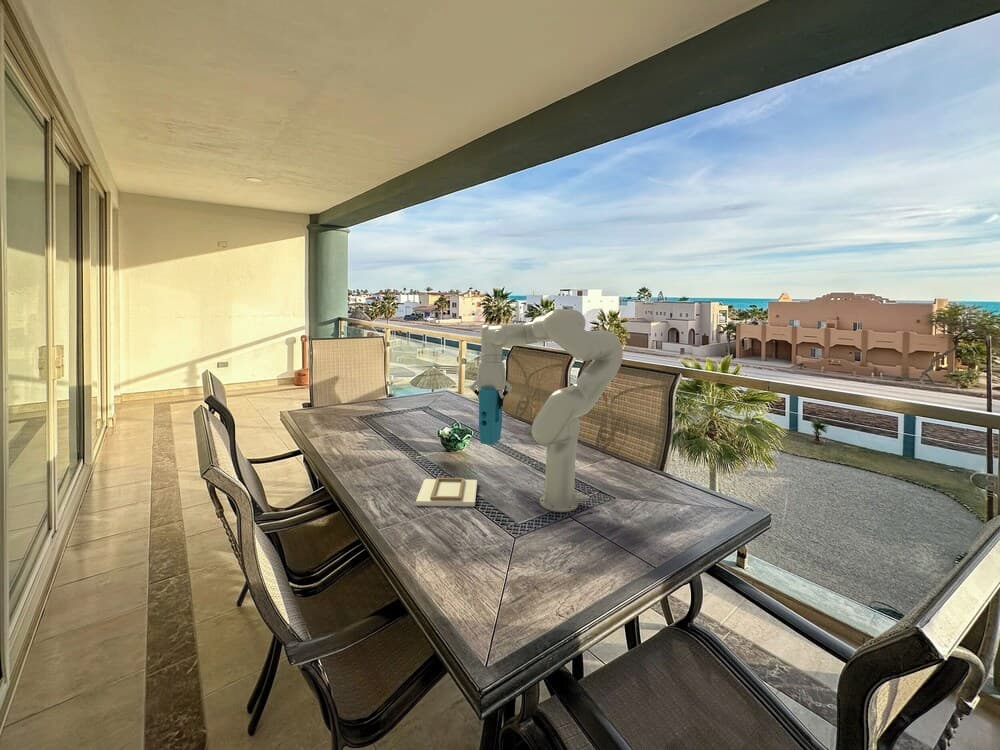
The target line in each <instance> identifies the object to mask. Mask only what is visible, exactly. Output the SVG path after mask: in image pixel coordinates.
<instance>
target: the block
mask: <svg viewBox="0 0 1000 750" xmlns="http://www.w3.org/2000/svg"><path fill="white" fill-rule="evenodd" d="M478 391H479V397H478V432H479V443H480V444H481V445H488V446H493V445H495V444H496V443H498V442H499V441H500V440H501V437H502V436H501V435H502V429H503V428H502V427H503V406H501V409H499V397H500V395H499V392H498V391H497V390H496V389H478ZM502 392H504V390H502Z"/></svg>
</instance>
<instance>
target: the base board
mask: <svg viewBox="0 0 1000 750" xmlns="http://www.w3.org/2000/svg"><path fill="white" fill-rule="evenodd" d="M477 487H478V479H466V478H465V477H436V478H435V479H434V478H424V480H423V482H422V485H421V487H420V490H419V492H418V495H417V497H416V500H415V506H418V507H419V506H420V507H421V506H424V507H425V506H426V507H427V506H429V507H430V506H431V507H433V506H434V507H475V506H476V497H477V489H478V488H477Z"/></svg>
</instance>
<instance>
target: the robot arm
mask: <svg viewBox="0 0 1000 750" xmlns="http://www.w3.org/2000/svg"><path fill="white" fill-rule="evenodd" d="M585 328H586V318H585V316H584V314H583V313H582V312H580V311H578V310H577V309H573V308H572V309H569V308H567V309H566V308H563V309H561V308H560V309H559V308H557V309H553V310H550V311H549V312H548V313H547V314H542V315H538V316H536V317H535V318H534V319H533V321H531V322H526V323H519V324H515V323H514V324H494V323H492V324H484V325H482V326H481V336H480V337H481V342H480V343H481V344H480V346H481V347H480V351H481V352H480V361H479V362H478V368H477V379H476V380H475V381H474V382H473V383H472V384H471V385H470V387H469V389H470V390H471V391H472V392H473V393H474V394H475V395H476V396H477V397H478V398H479V389H496V390H497V391H498V392H499V395H500V397H499V409H501V406H502V407H504V398H505V397H506V396H507V395H508V394H509V393H510V392H511V391H512V390H513V386H512V385H511V384H510V383H509V382H508V381H507V380H506V367H505V362H503V361H504V360H507V356H506V355H503V348H506V347H507V348H509V347H518V346H519V347H520V346H526V345H531V344H537V343H547V342H551V341H553V342H554V343H556V344H557V345H558V346H559V347H560V348H562V349H563V350H564V351H566V353H568V354H569V355H570V356H572V357H573V358H574V359H576V360H578V361H582V362H588V361H591V362H589V364H588V365H587V366H586V367H585V368H584V369H583V370H582V372H581V373H580V375H579V377H577V379H576V380H575V382H574V383H573V384H571V385H570V386H567V387H563V388H559V389H557V390H555V391H554V392H552V393H551V395H549V397H548V398H547V400H546V401H545V403H544V404H543V406H542V407H541V408H540V410H539V412H538V413H537V415H536V416H535V417H534V419H533V422H532V425H531V435H532V437H533V439H534V441H535V442H536V443H537V444H539V445H541V446H547V447H546V451H545V452H546V453H545V479H544V495H542V496H540V498H539V504H540V506H541V508H543V509H545V510H548V511H550V512H554V513H555V512H556V513H569V512H572V511H575V510H576V509H577V508H579V501H581V502H588V501H589V498H590V497H589V495H588V494H584V492H576V491H575V479H576V478H575V476H576V459H577V457H576V456H577V445H578V440H579V435H580V432H581V430H580V429H581V424H580V419H579V417H582V416H585V415H586V414H588V413H590V411H591V410H592V409H593V407H594V406H595V405H596V403H597V402H598V400H599V399H600V397H601V396H602V394H603V393H604V392H605V390H606V389H607V388H608V386H609V384H610V383H611V382H612V380H613V379H614V378H615V376H616V375H617V374H618V372H619V370H620V368H621V365H622V362H623V356H624V355H623V353H624V351H623V346H622V342H621V341H620V339H619V338H618V336H617V335H616V334H615V333H614V332H611V331H609V330H602V329H601V330H600V329H597V330H586V329H585ZM476 387H477V388H476ZM506 387H507V388H506ZM502 390H503V392H502Z"/></svg>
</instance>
